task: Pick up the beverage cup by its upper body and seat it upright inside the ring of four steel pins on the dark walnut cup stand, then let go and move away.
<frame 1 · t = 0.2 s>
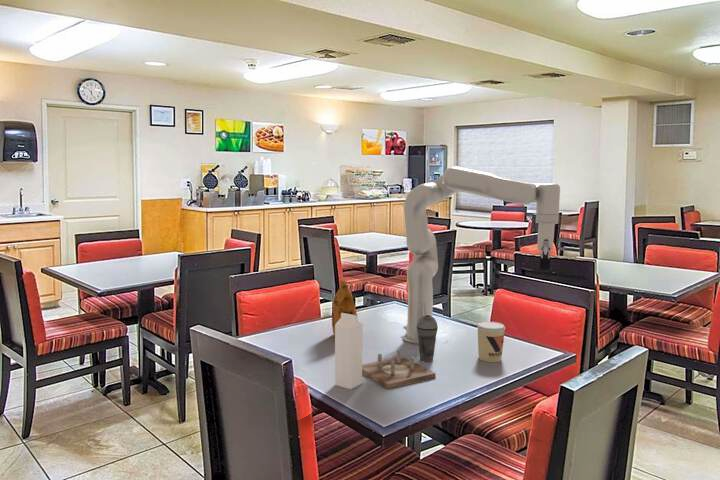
hand: (544, 267, 201), 31 cm above the table, tool pointing down, fingers open, 9 cm apart
coffee package: (344, 338, 221), on the table
milk: (348, 385, 173), on the table
cup stand: (395, 373, 182), on the table
coffee cup: (489, 359, 198), on the table
beverage cup: (426, 360, 196), on the table
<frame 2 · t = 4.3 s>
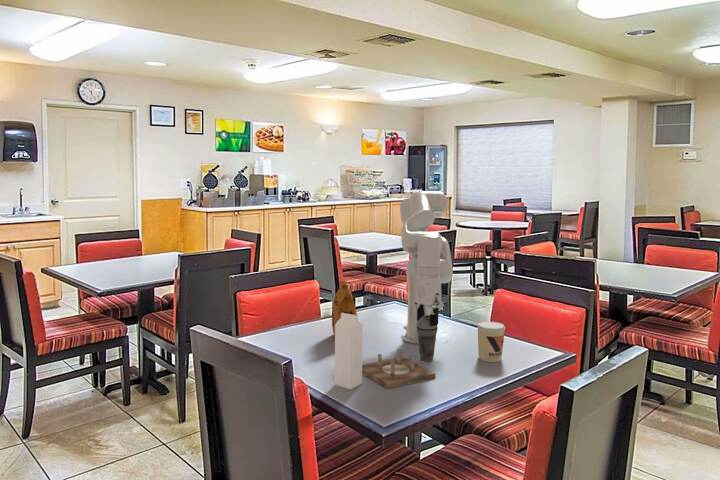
hand: (427, 322, 194), 13 cm above the table, tool pointing down, fingers closed on beverage cup, 6 cm apart
beverage cup: (426, 360, 196), on the table, touching gripper
everything else where it was.
when the fingers open (15 cm above the table, at t = 10.0 s): beverage cup stays where it is, resting on cup stand.
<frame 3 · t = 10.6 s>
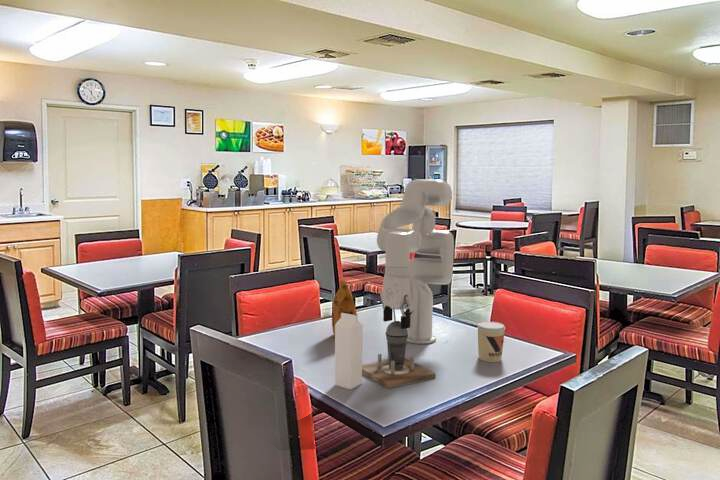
hand: (396, 324, 180), 16 cm above the table, tool pointing down, fingers open, 9 cm apart
beverage cup: (396, 369, 183), point 1 cm above the table, touching cup stand
everything else where it was.
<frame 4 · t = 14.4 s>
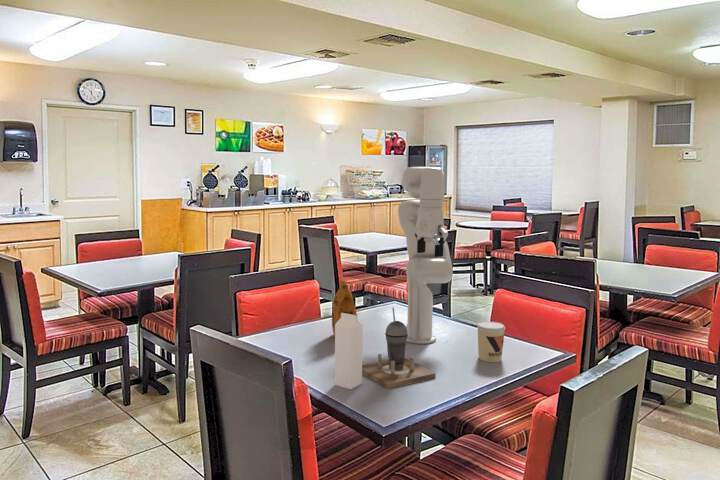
hand: (429, 254, 194), 36 cm above the table, tool pointing down, fingers open, 9 cm apart
nothing on the table moved.
at the end: beverage cup 0.4 cm off-centre on the cup stand, point 1.4 cm above the cup stand's base; beverage cup tilted 0°; the gripper is holding nothing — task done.
